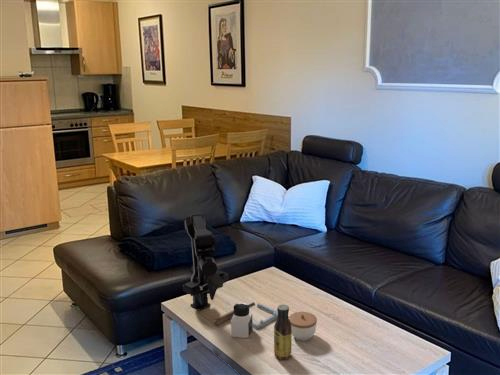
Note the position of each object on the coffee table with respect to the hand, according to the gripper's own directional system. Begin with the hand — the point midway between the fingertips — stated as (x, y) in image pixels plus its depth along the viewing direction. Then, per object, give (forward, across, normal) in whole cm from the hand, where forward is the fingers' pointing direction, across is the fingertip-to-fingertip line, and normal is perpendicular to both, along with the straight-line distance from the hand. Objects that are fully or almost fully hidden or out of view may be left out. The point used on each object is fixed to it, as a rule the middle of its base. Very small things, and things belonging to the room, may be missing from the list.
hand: (207, 302), depth 192 cm
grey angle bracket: (+12, +20, -7) cm, 25 cm away
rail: (+12, +16, +1) cm, 20 cm away
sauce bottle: (+12, +6, -34) cm, 36 cm away
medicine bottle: (+12, +7, -12) cm, 18 cm away
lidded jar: (+12, +21, -31) cm, 39 cm away
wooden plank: (+12, +12, 0) cm, 17 cm away
